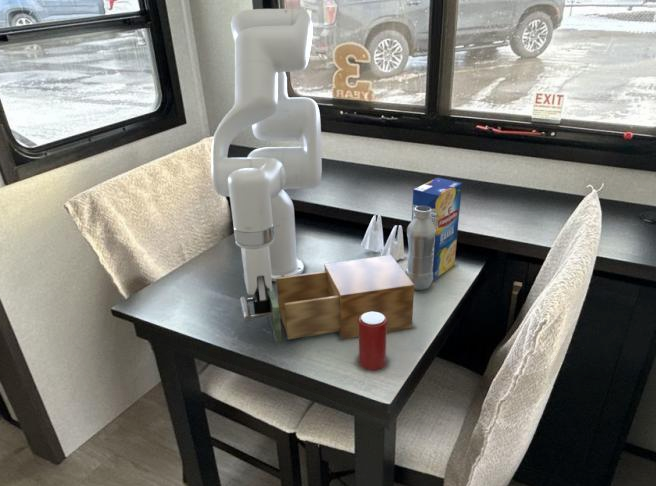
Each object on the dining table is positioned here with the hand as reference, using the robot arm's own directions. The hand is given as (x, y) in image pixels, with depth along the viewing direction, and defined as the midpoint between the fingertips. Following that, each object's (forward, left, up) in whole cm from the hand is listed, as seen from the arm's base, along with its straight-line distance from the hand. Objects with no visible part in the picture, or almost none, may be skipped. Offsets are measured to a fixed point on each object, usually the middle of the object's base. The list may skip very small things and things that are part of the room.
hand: (262, 314), depth 115 cm
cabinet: (+20, +12, -5) cm, 23 cm away
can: (+25, -5, -5) cm, 25 cm away
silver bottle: (+29, +28, -5) cm, 40 cm away
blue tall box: (+31, +38, -5) cm, 49 cm away
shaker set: (+17, +43, -5) cm, 46 cm away
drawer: (+5, +3, -4) cm, 7 cm away
